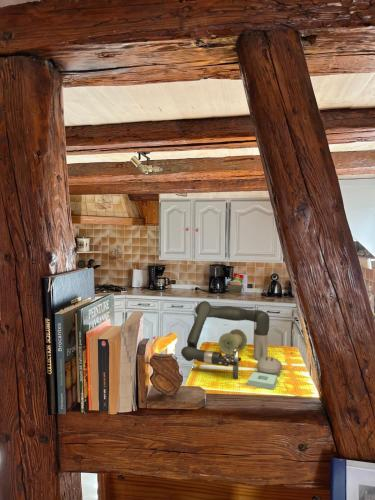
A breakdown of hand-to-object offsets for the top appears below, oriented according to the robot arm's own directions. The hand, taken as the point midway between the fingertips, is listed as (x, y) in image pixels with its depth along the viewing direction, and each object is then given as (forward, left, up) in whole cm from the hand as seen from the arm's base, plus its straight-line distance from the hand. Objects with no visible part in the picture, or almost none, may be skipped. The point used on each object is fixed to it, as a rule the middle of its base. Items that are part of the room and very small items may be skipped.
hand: (238, 361), depth 197 cm
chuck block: (0, +14, -10) cm, 17 cm away
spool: (-49, -18, -10) cm, 53 cm away
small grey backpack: (-19, +14, -10) cm, 26 cm away
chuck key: (0, -2, -10) cm, 10 cm away
